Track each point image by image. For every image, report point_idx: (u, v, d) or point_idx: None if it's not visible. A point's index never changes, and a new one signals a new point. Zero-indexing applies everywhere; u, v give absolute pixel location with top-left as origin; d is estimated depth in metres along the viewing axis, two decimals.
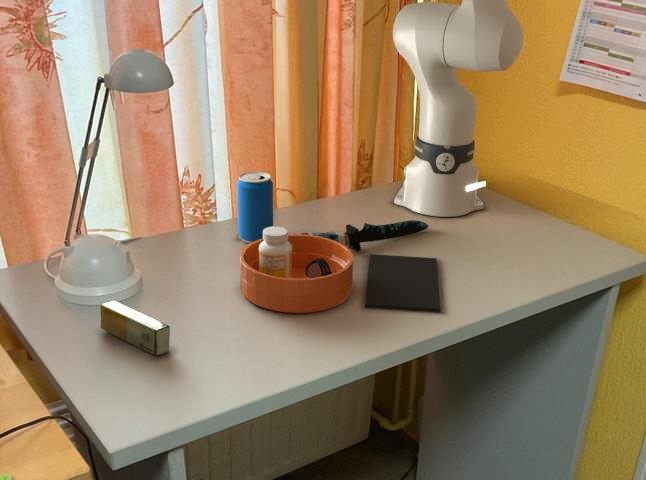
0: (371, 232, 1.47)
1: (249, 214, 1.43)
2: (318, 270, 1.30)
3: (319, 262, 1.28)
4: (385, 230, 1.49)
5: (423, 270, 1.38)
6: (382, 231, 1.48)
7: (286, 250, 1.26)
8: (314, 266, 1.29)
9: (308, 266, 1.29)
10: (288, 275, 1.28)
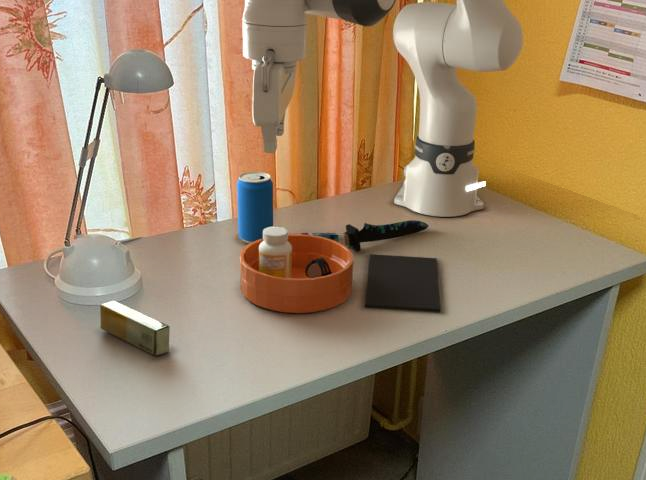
0: (371, 232, 1.47)
1: (249, 214, 1.43)
2: (318, 270, 1.30)
3: (319, 262, 1.28)
4: (385, 230, 1.49)
5: (423, 270, 1.38)
6: (382, 231, 1.48)
7: (286, 250, 1.26)
8: (314, 266, 1.29)
9: (308, 266, 1.29)
10: (288, 275, 1.28)
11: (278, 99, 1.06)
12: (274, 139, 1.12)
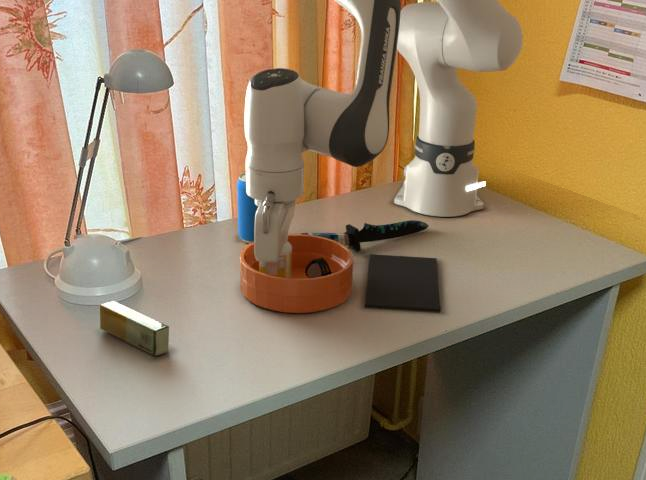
0: (371, 232, 1.47)
1: (249, 214, 1.43)
2: (318, 270, 1.30)
3: (319, 262, 1.28)
4: (385, 230, 1.49)
5: (423, 270, 1.38)
6: (382, 231, 1.48)
7: (286, 250, 1.26)
8: (314, 266, 1.29)
9: (308, 266, 1.29)
10: (288, 275, 1.28)
11: (277, 239, 1.16)
12: (276, 264, 1.24)
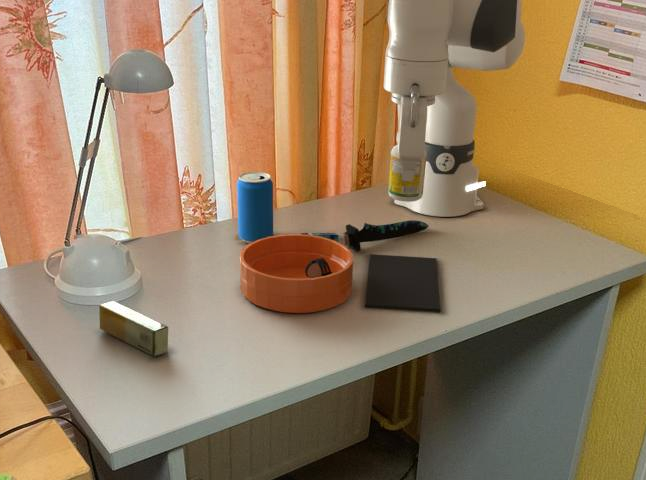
0: (371, 232, 1.47)
1: (249, 214, 1.43)
2: (318, 270, 1.30)
3: (319, 262, 1.28)
4: (385, 230, 1.49)
5: (423, 270, 1.38)
6: (382, 231, 1.48)
7: None
8: (314, 266, 1.29)
9: (308, 266, 1.29)
10: (421, 182, 1.19)
11: (424, 134, 1.07)
12: (413, 168, 1.15)
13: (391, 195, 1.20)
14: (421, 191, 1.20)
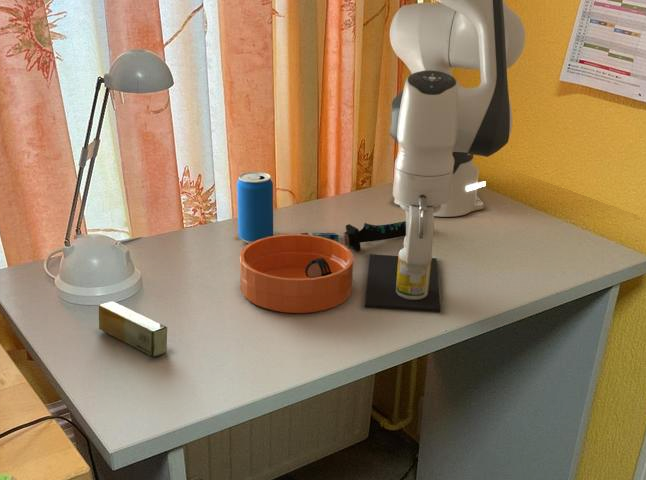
0: (371, 232, 1.47)
1: (249, 214, 1.43)
2: (318, 270, 1.30)
3: (319, 262, 1.28)
4: (385, 230, 1.49)
5: None
6: (382, 231, 1.48)
7: None
8: (314, 266, 1.29)
9: (308, 266, 1.29)
10: (427, 282, 1.27)
11: (431, 243, 1.15)
12: (420, 272, 1.22)
13: (398, 293, 1.29)
14: (426, 290, 1.28)
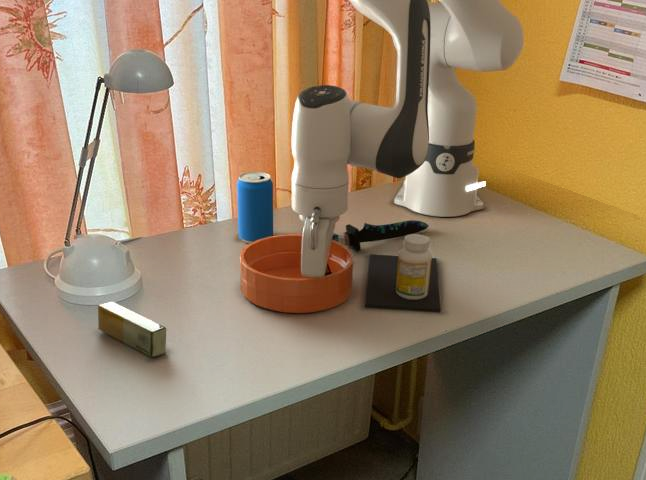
0: (371, 232, 1.47)
1: (249, 214, 1.43)
2: None
3: None
4: (385, 230, 1.49)
5: None
6: (382, 231, 1.48)
7: (428, 258, 1.25)
8: None
9: None
10: (427, 282, 1.27)
11: (324, 255, 1.17)
12: None
13: (398, 293, 1.29)
14: (426, 290, 1.28)
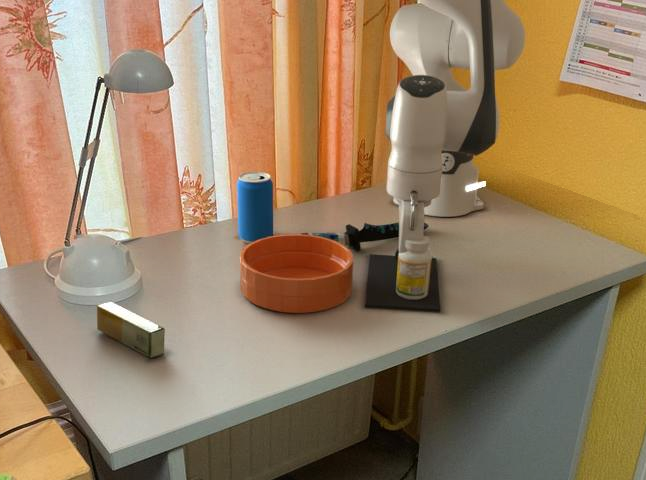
0: (371, 232, 1.47)
1: (249, 214, 1.43)
2: None
3: None
4: (385, 230, 1.49)
5: None
6: (382, 231, 1.48)
7: (428, 258, 1.25)
8: None
9: (398, 250, 1.36)
10: (427, 282, 1.27)
11: (422, 236, 1.24)
12: None
13: (398, 293, 1.29)
14: (426, 290, 1.28)
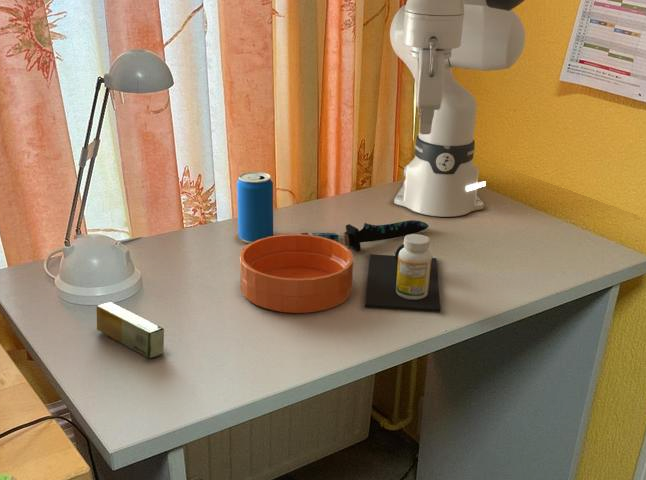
0: (371, 232, 1.47)
1: (249, 214, 1.43)
2: None
3: None
4: (385, 230, 1.49)
5: None
6: (382, 231, 1.48)
7: (428, 258, 1.25)
8: None
9: (398, 250, 1.36)
10: (427, 282, 1.27)
11: (442, 83, 1.14)
12: (431, 121, 1.21)
13: (398, 293, 1.29)
14: (426, 290, 1.28)
